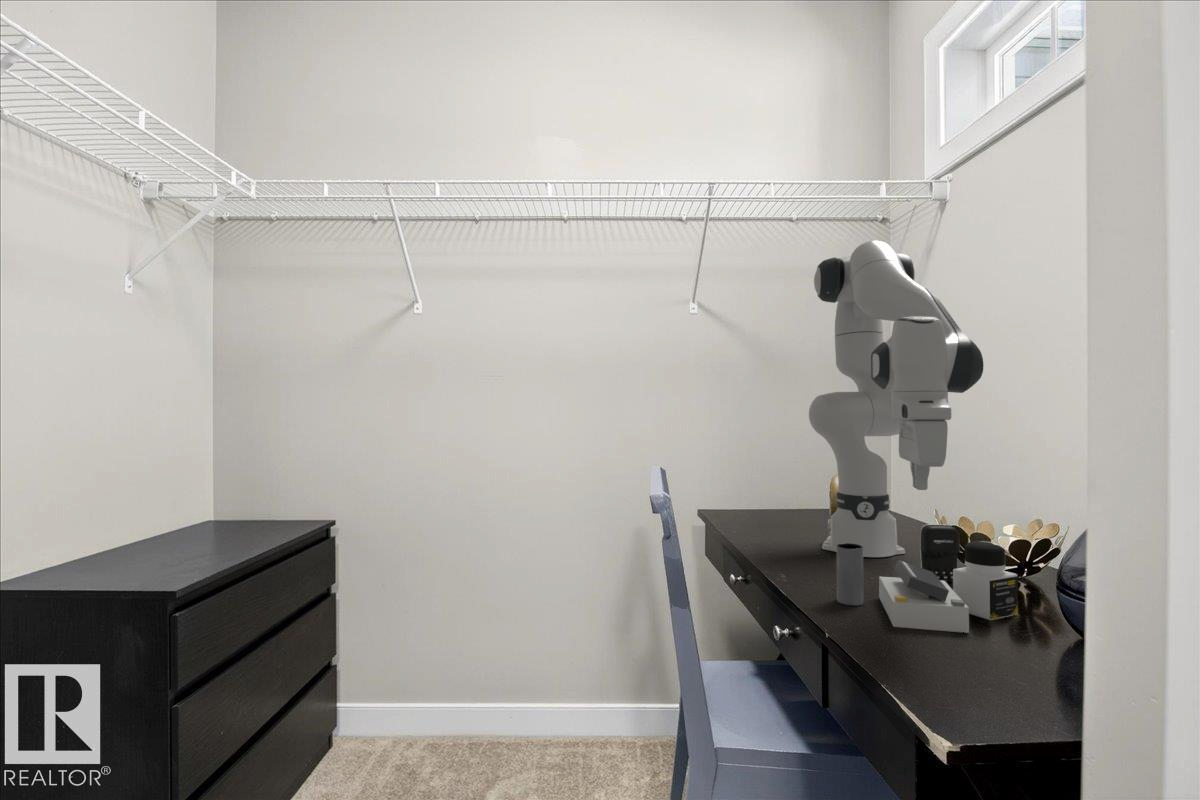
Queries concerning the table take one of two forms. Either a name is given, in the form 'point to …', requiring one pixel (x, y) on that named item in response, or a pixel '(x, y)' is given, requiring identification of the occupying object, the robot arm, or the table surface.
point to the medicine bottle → (986, 582)
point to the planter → (850, 574)
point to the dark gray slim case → (921, 580)
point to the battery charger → (939, 550)
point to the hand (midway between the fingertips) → (920, 489)
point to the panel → (922, 607)
